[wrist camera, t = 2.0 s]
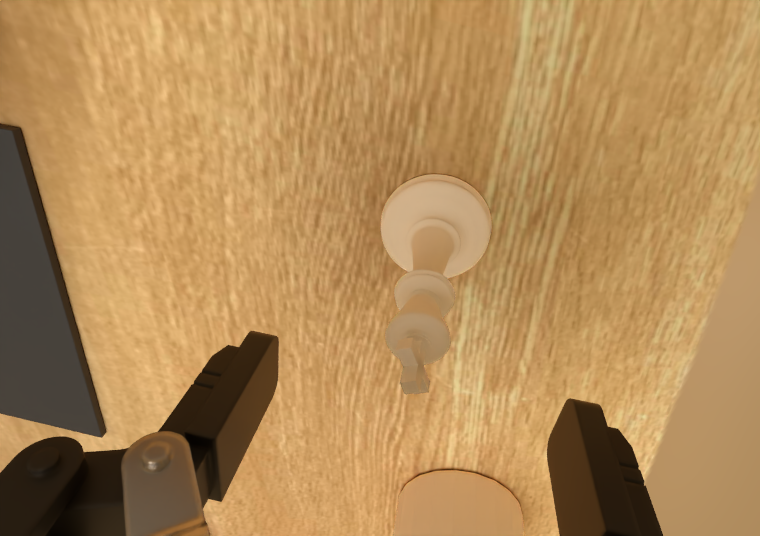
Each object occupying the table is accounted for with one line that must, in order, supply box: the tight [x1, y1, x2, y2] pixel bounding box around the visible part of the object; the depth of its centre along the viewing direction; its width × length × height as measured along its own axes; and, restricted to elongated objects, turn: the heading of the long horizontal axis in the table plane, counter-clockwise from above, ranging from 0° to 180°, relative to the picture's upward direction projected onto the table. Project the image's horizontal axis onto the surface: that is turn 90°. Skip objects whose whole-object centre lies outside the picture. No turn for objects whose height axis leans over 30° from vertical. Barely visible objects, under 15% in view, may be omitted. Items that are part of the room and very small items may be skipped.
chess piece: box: [381, 174, 492, 394], centre depth 17 cm, size 5×5×10 cm
